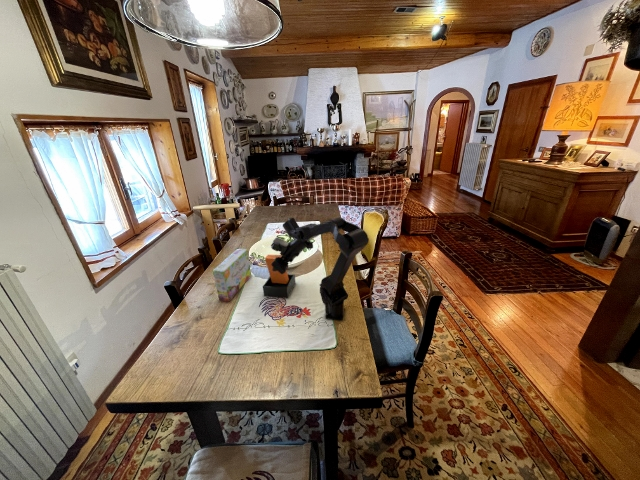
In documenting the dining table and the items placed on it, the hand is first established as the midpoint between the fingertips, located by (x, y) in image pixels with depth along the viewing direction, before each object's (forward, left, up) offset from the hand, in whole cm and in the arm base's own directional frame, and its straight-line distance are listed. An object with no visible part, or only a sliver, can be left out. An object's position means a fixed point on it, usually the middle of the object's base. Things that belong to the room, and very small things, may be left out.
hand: (274, 268), depth 110 cm
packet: (-2, -1, -7) cm, 7 cm away
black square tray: (-1, 0, -11) cm, 11 cm away
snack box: (+20, +1, -11) cm, 23 cm away
